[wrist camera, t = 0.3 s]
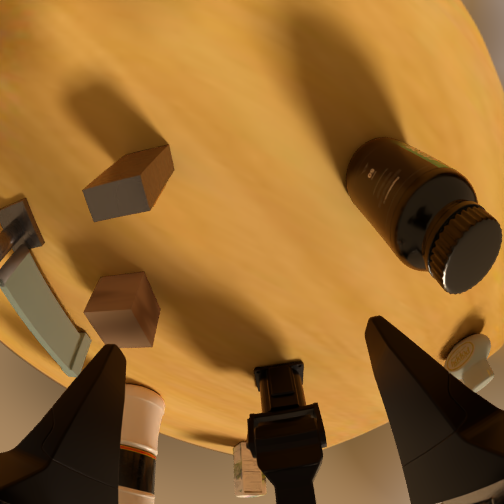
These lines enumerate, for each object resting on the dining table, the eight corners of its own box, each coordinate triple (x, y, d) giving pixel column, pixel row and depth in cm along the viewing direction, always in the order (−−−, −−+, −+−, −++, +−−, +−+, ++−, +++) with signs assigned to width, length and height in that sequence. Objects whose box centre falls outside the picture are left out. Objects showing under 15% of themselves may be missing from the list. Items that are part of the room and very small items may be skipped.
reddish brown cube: (160, 308, 27) (152, 347, 23) (119, 312, 27) (107, 347, 23) (144, 271, 25) (130, 309, 20) (100, 276, 25) (83, 312, 21)
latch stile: (175, 176, 20) (152, 218, 14) (132, 185, 20) (97, 229, 14) (169, 144, 18) (140, 175, 13) (124, 155, 18) (82, 190, 13)
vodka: (156, 410, 42) (149, 558, 17) (108, 394, 39) (88, 546, 14) (173, 394, 38) (168, 571, 13) (117, 374, 35) (94, 559, 10)
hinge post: (44, 242, 22) (9, 288, 16) (17, 249, 22) (-17, 291, 16) (25, 198, 19) (-18, 237, 13) (-1, 209, 19) (-41, 246, 13)
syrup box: (254, 448, 58) (258, 497, 46) (232, 447, 56) (234, 497, 44) (263, 442, 55) (268, 495, 43) (239, 441, 54) (243, 495, 42)
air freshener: (473, 323, 36) (498, 365, 27) (486, 328, 38) (508, 365, 30) (433, 362, 41) (452, 404, 33) (450, 364, 43) (468, 400, 35)
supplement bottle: (380, 118, 18) (496, 170, 8) (425, 171, 20) (520, 244, 11) (327, 181, 21) (403, 279, 11) (377, 225, 23) (450, 322, 13)
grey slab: (20, 241, 21) (-9, 275, 16) (30, 238, 21) (0, 274, 16) (81, 340, 30) (68, 376, 25) (91, 340, 30) (78, 377, 25)
